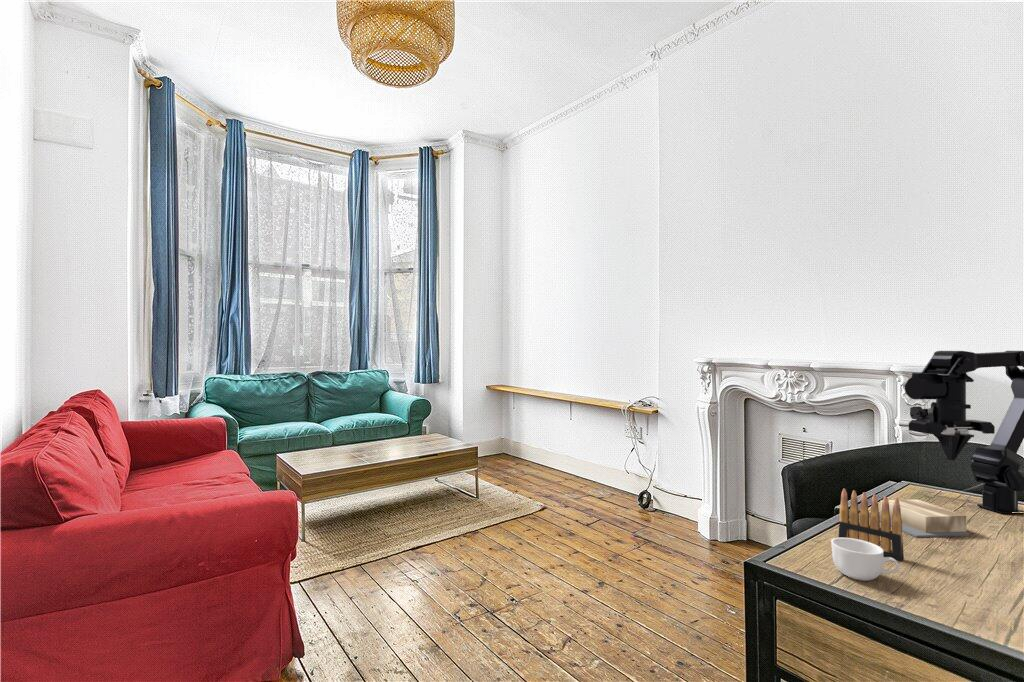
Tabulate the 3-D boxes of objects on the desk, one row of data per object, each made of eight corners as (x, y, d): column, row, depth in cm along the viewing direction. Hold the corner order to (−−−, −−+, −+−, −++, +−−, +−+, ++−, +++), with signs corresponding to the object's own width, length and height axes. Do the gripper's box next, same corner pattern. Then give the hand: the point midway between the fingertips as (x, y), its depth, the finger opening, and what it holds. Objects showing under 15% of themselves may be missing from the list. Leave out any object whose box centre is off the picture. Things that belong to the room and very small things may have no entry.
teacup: (828, 576, 89) (828, 546, 89) (833, 562, 95) (833, 534, 95) (899, 593, 83) (899, 561, 83) (899, 577, 89) (899, 547, 89)
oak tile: (917, 499, 123) (880, 500, 122) (966, 515, 111) (925, 516, 110) (917, 513, 123) (880, 514, 122) (966, 531, 111) (925, 532, 110)
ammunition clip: (837, 545, 103) (837, 488, 103) (840, 543, 104) (840, 486, 105) (902, 562, 95) (902, 500, 95) (903, 559, 96) (903, 498, 97)
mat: (909, 513, 124) (909, 511, 124) (970, 535, 109) (969, 534, 109) (861, 514, 123) (861, 512, 123) (916, 537, 108) (916, 535, 108)
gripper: (952, 396, 135) (952, 453, 135) (890, 396, 133) (890, 454, 133) (996, 400, 124) (996, 462, 124) (928, 400, 122) (929, 463, 122)
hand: (950, 460), depth 126 cm, fingers closed
